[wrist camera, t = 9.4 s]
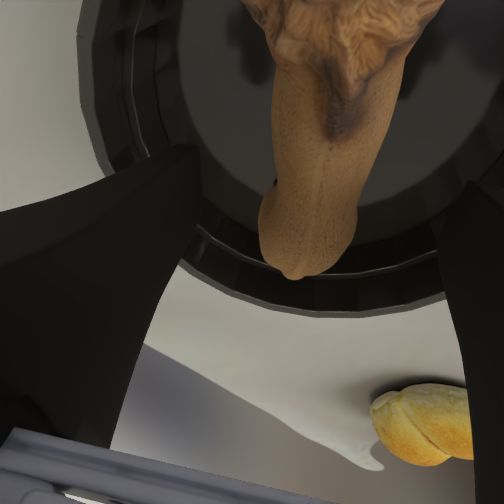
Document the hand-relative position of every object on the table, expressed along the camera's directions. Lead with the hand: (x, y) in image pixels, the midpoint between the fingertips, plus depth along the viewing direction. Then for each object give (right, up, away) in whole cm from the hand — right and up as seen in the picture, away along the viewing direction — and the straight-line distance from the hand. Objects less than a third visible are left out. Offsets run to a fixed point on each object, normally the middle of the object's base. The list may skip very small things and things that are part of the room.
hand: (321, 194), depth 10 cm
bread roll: (+12, -15, +17) cm, 26 cm away
